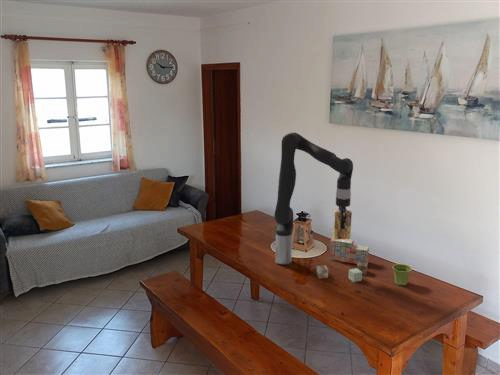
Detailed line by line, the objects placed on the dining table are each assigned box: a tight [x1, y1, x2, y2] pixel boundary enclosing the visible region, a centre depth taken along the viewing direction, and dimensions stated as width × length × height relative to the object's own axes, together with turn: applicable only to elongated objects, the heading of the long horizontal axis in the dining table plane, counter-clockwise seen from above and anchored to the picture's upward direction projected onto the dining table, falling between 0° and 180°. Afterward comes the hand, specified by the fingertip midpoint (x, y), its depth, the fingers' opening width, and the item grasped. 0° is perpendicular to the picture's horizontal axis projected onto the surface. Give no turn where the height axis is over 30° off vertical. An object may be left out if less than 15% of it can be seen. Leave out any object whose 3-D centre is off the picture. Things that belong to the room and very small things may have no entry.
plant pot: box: [392, 263, 413, 287], centre depth 230 cm, size 9×9×9 cm
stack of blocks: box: [329, 237, 370, 265], centre depth 258 cm, size 21×6×12 cm, turn 63°
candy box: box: [332, 209, 353, 240], centre depth 237 cm, size 9×4×15 cm, turn 92°
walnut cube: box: [356, 262, 368, 276], centre depth 243 cm, size 5×5×5 cm
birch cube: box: [316, 265, 329, 279], centre depth 239 cm, size 5×5×5 cm
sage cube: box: [347, 267, 363, 283], centre depth 235 cm, size 5×5×5 cm
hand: (341, 227), depth 237 cm, fingers closed on candy box, 4 cm apart
